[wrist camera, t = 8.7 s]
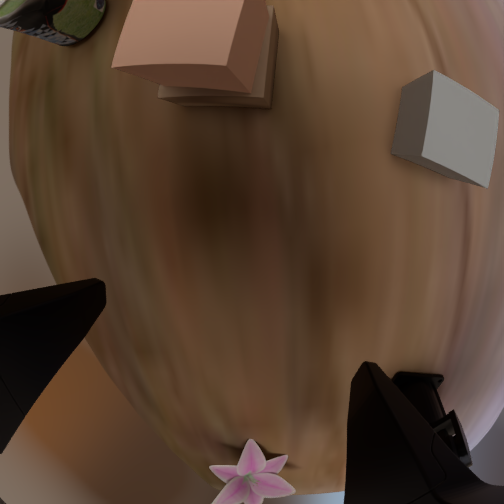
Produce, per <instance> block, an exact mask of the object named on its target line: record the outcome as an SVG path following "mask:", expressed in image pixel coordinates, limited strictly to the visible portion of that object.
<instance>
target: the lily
mask: <svg viewBox="0 0 504 504" xmlns="http://www.w3.org/2000/svg"><path fill="white" fill-rule="evenodd" d="M287 459H288V455H283V456H280V457H276V458H273V459H271V460H268V461H266V459H265V457H264V455H263V453H262V451H261V449H260V448H259V446H258V445H257V443H256V442H255V441H254V440H252V439H249V440H248V441H247V443H246V445H245V448H244V450H243V452H242V455H241V458H240V460H239V462H238V465H237V466H231V465H212V466H209V467H210V469H211V471H212V472H213V473H214V474H215V475H216V476H217V477H219V478H220V479H221V480H222V481H224V482H225V483H227V484H226V486H225V487H224V488H223V490H222V491H221V492H220V493H219V495H218V496H217V497H216V499H215V500H214V501H213V502H212V504H240V503H242V502H244V503H245V504H262V502H263V499H264V497H265V498H277V497H283V496H288V495H291V494H294V493H295V489H294V488H293V487H292V486H291V485H290V484H289V483H288V482H286V481H285V480H284V479H283V478H281V477H279V476H278V475H277V474H278V473H279V472H280V470H281V469H282V467H283V466H284V464H285V463H286V461H287Z"/></svg>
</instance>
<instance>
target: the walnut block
mask: <svg viewBox="0 0 504 504" xmlns="http://www.w3.org/2000/svg"><path fill="white" fill-rule="evenodd" d="M267 9H268V13H269V20H268V24H267V28H266V32H265V36H264V40H263V44H262V48H261V52H260V56H259V60H258V65H257V69H256V73H255V78H254V82H253V86H252V91H251V93H244V92H237V91H228V90H219V89H208V88H195V87H174V86H162V85H160V84H159V91H158V98H159V99H163V100H166V101H169V102H172V103H175V104H178V105H182V106H232V107H251V108H265V109H271V105H272V95H273V86H274V76H275V66H276V56H277V47H278V37H279V29H278V24H277V19H276V15H275V10H274V6H267Z"/></svg>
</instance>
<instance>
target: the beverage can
mask: <svg viewBox="0 0 504 504" xmlns="http://www.w3.org/2000/svg"><path fill="white" fill-rule="evenodd" d="M105 6H106V2H105V0H0V27H3V28H7V29H11V30H14V31H18V32H21V33H25V34H28V35H31V36H35V37H38V38H41V39H44V40H47V41H49V42H52V43H55V44H58V45H61V46H69V45H72V44H74V43H77V42H78V41H80V40H82V39H83V38H84V37H86V36H87V35H88V34H89V33H90V32H91V31H92V30H93V29H94V28H95V26H96V25H97V24H98V23H99V21H100V19H101V18H102V16H103V14H104V11H105Z"/></svg>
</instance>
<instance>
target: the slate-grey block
mask: <svg viewBox="0 0 504 504" xmlns="http://www.w3.org/2000/svg"><path fill="white" fill-rule="evenodd" d="M498 119H499V110H498V109H497V108H495V107H494V106H493V105H491V104H490V103H488V102H487V101H485V100H484V99H483V98H481V97H480V96H478V95H477V94H475V93H473V92H472V91H470V90H469V89H467V88H465V87H464V86H462V85H460V84H459V83H457V82H455V81H453V80H452V79H450V78H448V77H446V76H444V75H443V74H441V73H439V72H437V71H435V70H432V71H431V72H429V73H427V74H425V75H423V76H421V77H420V78H418V79H416V80H414V81H412V82H411V83H409V84H407V85H405V86H404V87H402V93H401V100H400V107H399V113H398V119H397V125H396V130H395V135H394V140H393V145H392V150H391V154H392V155H395V156H398V157H400V158H403V159H406V160H408V161H411V162H413V163H416V164H418V165H421V166H423V167H426V168H428V169H430V170H433V171H435V172H437V173H439V174H442V175H444V176H446V177H448V178H452V179H456V180H459V181H463V182H467V183H470V184H474V185H477V186H480V187H484V188H487V189H488V185H489V181H490V176H491V171H492V166H493V160H494V154H495V147H496V139H497V130H498Z"/></svg>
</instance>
